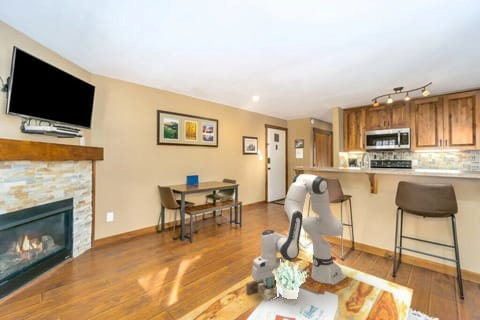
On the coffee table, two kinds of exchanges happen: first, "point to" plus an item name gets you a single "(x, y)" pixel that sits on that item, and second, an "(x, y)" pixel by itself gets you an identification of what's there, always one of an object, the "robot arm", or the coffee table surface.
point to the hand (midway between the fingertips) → (268, 284)
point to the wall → (253, 286)
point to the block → (267, 291)
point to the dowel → (269, 283)
